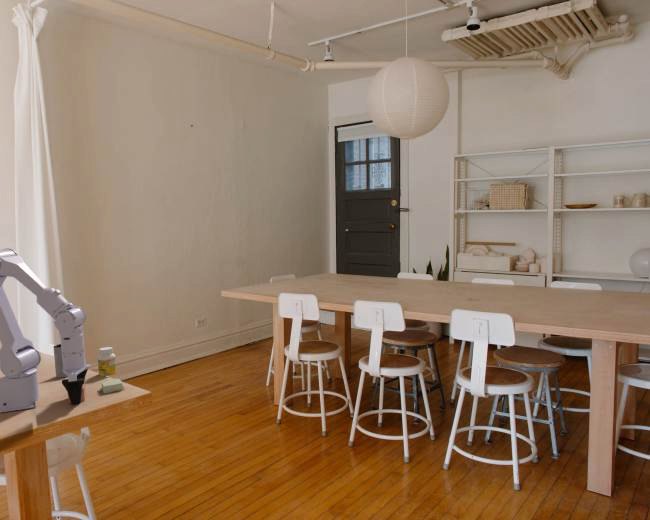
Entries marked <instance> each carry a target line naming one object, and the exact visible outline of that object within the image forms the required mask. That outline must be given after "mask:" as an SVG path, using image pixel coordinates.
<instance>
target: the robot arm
mask: <svg viewBox="0 0 650 520" xmlns="http://www.w3.org/2000/svg"><path fill="white" fill-rule="evenodd" d="M7 277H9V278H14V279H15V280H17V281H18V282H19V283H20V284H22V286H24V287H25V288H26V289H27V290H29V291H30V292H31V293H32V294H33V295H35V297H36V303H37V304H38V305H39V306H40V307H41V309H43V310H44V311H45V312H46V313H47V314H48V315H49V316H50V317H51V318H52V319H53V320H54V321H53V323H54V326H55V328H56V329H57V330H58V332H59V336H60V337H59V338H60V344H61V350H62V361H63V369H62V370H63V373H65V374H66V375H67V376H68V377H67V378H65V379H64V378H63V379H62V380H61V384H62V386H63V387H64V389H65V390H66V392H67V396H68V395H69V398H70V401H71V403H70V404H71V405H72V406H73V405H81V402H82V401H81V393H82V386H83V384H85V380H86V375H87V373H88V370H89V369H90V368H92V367H91V366H92V365H91V364H87V363H86V352H85V351H86V350H85V340H84V328H83V324H84V323H85V322H86V319H87V316H86V313H85V311H84V310H83V308H82V307H81V306H78V305H74V304H73V303H72V302H69V301H68V299H66V297H65V296H63V295H62V292H61V291H60V289H56V288H54V287H47V286H46V285H45V283H44V282H43V281H42V280H41V279H40V278H39V277H38V276H37V275H36V274H35V273H34V272H33V270H32V269H31V268H30V267H28V265H27V264H26V263H25V261H24V258H23V256H21V255H20V254H18V252H17V251H16V250H14V249H12V248H2V249H0V344H1V346H0V372H1V373H2V374H3V375H4V376H0V413H6V412H7V413H8V412H13V411H19V410H20V411H21V410H26V409H27V410H28V409H34V408H37V407H36V406H37V405H36V402H37V401H39V399H40V392H39V390H40V389H39V381H38V366H39V365H40V364H41V361H42V356H41V352H40V351H39V350H38V349H37V348H36V347H35V346H34V344H33V341H31V340H30V339H27V338H26V337H25V336H24V335H23V332H22V330H21V328H20V325H19V322H18V320H17V318H16V316H15V313H14V311H13V308H12V306H11V303H10V301H9V299H8V297H7V294H6V291H5V289H4V287H3V284H4V282H5V280H6V279H7Z"/></svg>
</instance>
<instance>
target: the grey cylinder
mask: <svg viewBox="0 0 650 520" xmlns="http://www.w3.org/2000/svg"><path fill="white" fill-rule="evenodd" d="M53 356H54V367H55V378H58V379H62V378H63V377H64V378H68V376H67V375H66V374H65V373H63V370H62V369H63V361H62V350H61V343H60V344H55V345H54V346H53ZM64 378H63V379H64Z"/></svg>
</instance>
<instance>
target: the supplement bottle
mask: <svg viewBox="0 0 650 520" xmlns="http://www.w3.org/2000/svg"><path fill="white" fill-rule="evenodd" d="M113 352H114V350H113V347H111V346H106V347H101V348H98V353H99V355H98V356H97V365H98V375H99V376H100V377H108V376H113V375H115V374H117V373H118V369H117V359H116V357H117V356H116V354H115V353H113Z"/></svg>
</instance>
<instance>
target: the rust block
mask: <svg viewBox="0 0 650 520" xmlns="http://www.w3.org/2000/svg"><path fill="white" fill-rule="evenodd" d="M86 393H87V392H86V384H85V383H84V384H83V386H82V393H81V402H85V401H86V397H87V394H86ZM67 399H68V404H71V401H70V398H69V395H68V394H67Z"/></svg>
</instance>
